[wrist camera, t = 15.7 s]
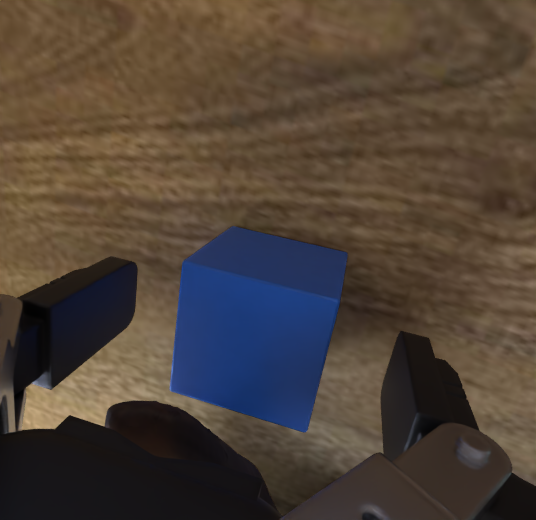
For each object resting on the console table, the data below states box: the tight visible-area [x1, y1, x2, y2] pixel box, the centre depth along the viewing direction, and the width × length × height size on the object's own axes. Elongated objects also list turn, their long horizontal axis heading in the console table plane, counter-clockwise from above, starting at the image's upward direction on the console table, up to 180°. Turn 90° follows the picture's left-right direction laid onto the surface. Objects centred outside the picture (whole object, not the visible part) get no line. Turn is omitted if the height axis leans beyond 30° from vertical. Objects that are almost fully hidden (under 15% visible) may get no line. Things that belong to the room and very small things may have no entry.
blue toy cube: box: [170, 226, 348, 432], centre depth 12 cm, size 4×4×4 cm
